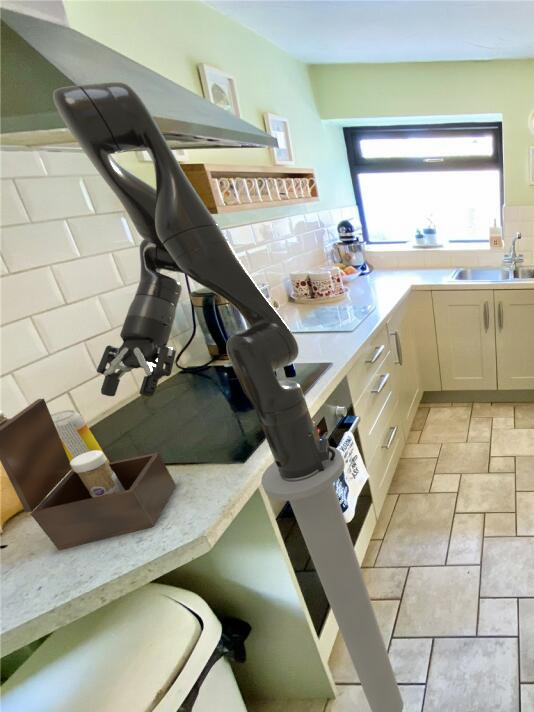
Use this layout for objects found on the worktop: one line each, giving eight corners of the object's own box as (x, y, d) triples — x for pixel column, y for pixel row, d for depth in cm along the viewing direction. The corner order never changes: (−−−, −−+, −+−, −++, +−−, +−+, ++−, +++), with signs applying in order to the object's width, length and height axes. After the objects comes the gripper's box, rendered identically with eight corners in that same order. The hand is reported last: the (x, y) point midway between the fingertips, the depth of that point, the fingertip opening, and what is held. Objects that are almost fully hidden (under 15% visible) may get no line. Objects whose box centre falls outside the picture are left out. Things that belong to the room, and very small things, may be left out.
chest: (176, 485, 90) (158, 452, 86) (153, 526, 79) (131, 491, 75) (94, 504, 86) (71, 470, 82) (58, 550, 75) (30, 514, 71)
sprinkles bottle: (104, 523, 80) (66, 467, 73) (107, 509, 83) (71, 455, 77) (134, 512, 82) (99, 457, 76) (136, 499, 85) (103, 446, 79)
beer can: (106, 460, 100) (73, 406, 93) (114, 468, 96) (80, 413, 90) (73, 474, 95) (35, 418, 88) (80, 483, 92) (41, 426, 85)
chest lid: (44, 398, 76) (5, 400, 74) (-6, 434, 65) (-53, 438, 63) (72, 468, 82) (37, 471, 80) (31, 511, 71) (-10, 516, 69)
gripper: (101, 314, 85) (74, 390, 81) (164, 313, 84) (140, 390, 79) (136, 329, 93) (113, 400, 88) (195, 328, 91) (175, 400, 86)
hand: (126, 395), depth 83 cm, fingers open, 8 cm apart
